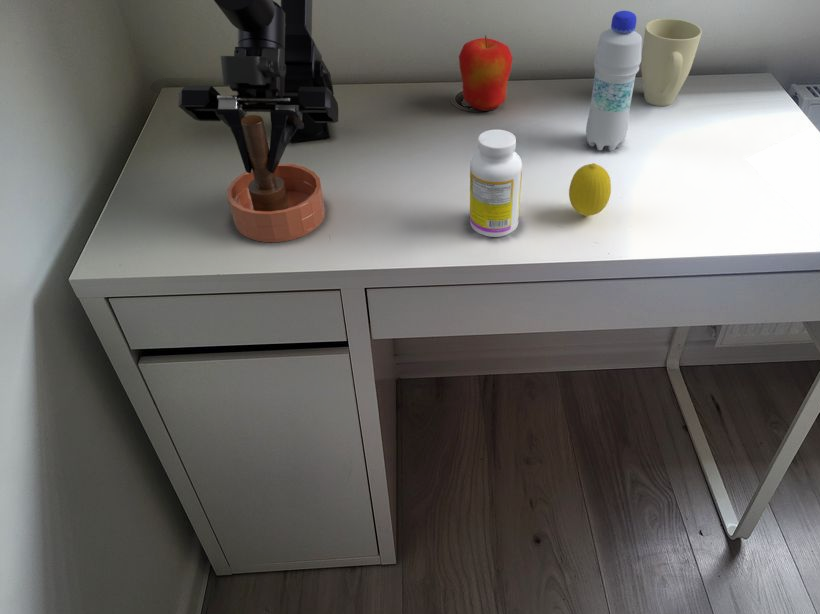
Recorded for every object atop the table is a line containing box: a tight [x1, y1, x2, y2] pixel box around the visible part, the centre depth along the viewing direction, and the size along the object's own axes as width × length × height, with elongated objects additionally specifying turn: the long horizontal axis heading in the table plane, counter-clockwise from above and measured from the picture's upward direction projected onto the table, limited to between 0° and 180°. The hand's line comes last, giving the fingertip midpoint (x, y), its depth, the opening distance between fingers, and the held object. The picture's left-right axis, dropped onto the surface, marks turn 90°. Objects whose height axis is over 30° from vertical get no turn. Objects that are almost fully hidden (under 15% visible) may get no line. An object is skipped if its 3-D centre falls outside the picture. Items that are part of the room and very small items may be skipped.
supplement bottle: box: [469, 129, 523, 238], centre depth 92 cm, size 7×7×13 cm
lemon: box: [568, 163, 612, 217], centre depth 95 cm, size 6×6×8 cm
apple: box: [458, 34, 513, 111], centre depth 117 cm, size 9×8×12 cm
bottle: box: [585, 10, 643, 152], centre depth 105 cm, size 7×7×20 cm
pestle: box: [241, 114, 289, 211], centre depth 90 cm, size 5×5×13 cm
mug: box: [640, 18, 703, 107], centre depth 118 cm, size 11×10×12 cm
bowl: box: [226, 163, 326, 243], centre depth 96 cm, size 12×12×4 cm
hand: (259, 172), depth 89 cm, fingers closed on pestle, 2 cm apart
